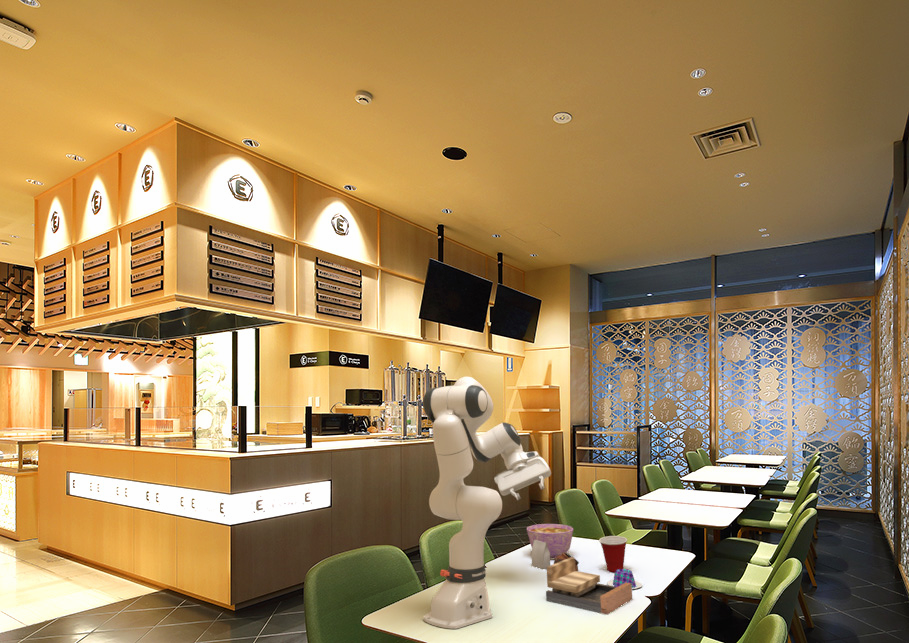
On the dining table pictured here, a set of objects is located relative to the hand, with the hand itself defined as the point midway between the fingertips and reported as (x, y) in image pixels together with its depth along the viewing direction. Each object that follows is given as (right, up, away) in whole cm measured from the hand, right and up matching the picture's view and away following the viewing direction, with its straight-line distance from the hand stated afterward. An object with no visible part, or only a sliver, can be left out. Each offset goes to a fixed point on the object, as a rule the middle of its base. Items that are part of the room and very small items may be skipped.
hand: (530, 493), depth 214 cm
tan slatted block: (+13, -30, -12) cm, 35 cm away
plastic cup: (+35, -35, +17) cm, 53 cm away
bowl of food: (+14, -39, +42) cm, 59 cm away
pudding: (+33, -33, -1) cm, 47 cm away
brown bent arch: (+15, -36, +16) cm, 42 cm away
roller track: (+17, -31, -16) cm, 39 cm away
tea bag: (+7, -37, +25) cm, 45 cm away
